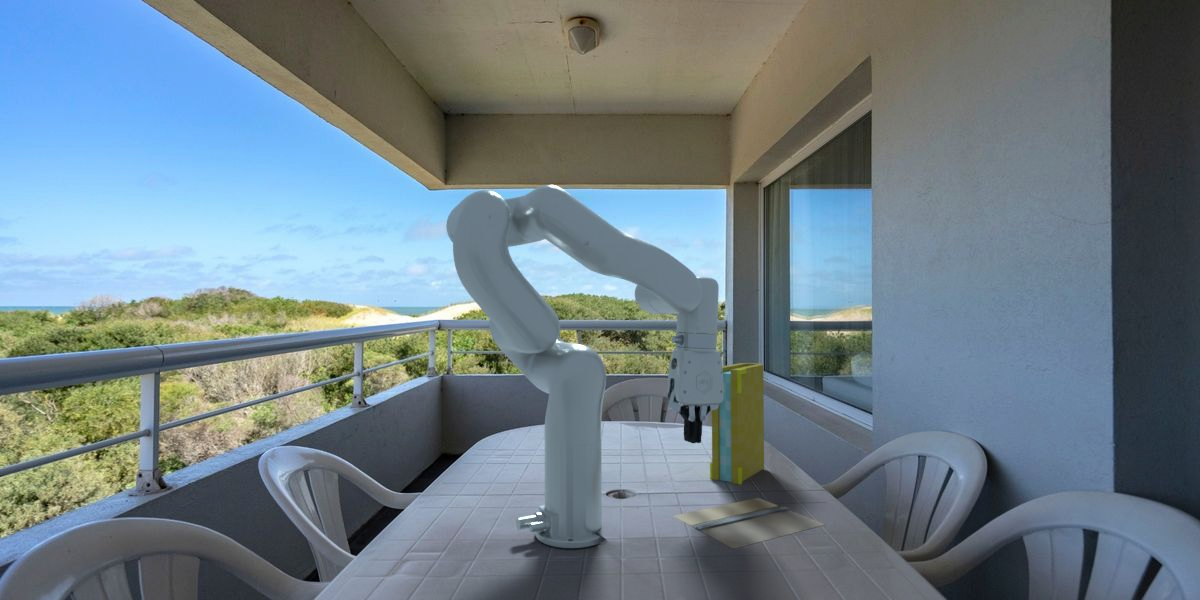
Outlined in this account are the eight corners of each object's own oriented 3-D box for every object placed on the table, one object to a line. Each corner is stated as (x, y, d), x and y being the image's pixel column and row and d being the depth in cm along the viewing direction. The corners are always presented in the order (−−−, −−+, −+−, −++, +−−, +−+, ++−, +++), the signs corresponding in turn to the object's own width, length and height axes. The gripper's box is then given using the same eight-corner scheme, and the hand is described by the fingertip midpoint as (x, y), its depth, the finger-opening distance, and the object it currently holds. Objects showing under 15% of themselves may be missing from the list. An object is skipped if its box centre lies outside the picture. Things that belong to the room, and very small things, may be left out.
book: (740, 491, 115) (739, 370, 115) (710, 485, 119) (709, 368, 119) (769, 473, 128) (768, 364, 129) (742, 468, 132) (741, 362, 133)
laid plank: (733, 558, 83) (733, 546, 83) (692, 535, 92) (691, 524, 92) (825, 533, 93) (825, 522, 93) (780, 514, 102) (779, 504, 102)
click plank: (690, 534, 93) (690, 525, 93) (656, 516, 101) (656, 507, 101) (778, 513, 102) (778, 505, 102) (740, 498, 111) (740, 490, 111)
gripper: (674, 342, 98) (670, 448, 97) (740, 345, 105) (737, 443, 104) (651, 340, 105) (647, 439, 104) (715, 343, 111) (711, 436, 110)
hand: (692, 441), depth 104 cm, fingers closed
